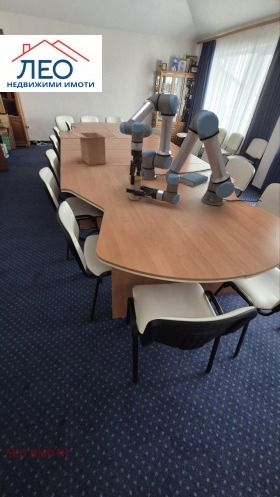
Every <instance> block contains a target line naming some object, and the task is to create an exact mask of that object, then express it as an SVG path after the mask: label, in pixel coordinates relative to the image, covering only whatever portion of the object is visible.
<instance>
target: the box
mask: <svg viewBox="0 0 280 497" xmlns="http://www.w3.org/2000/svg"><path fill="white" fill-rule="evenodd" d="M70 133H71V134H72V135H74V136H75V137H77V138H79V144H80V153H81V160H83V162H85V163H86V165H87V166H95V165H97V166H98V165H106V163H107V162H106V158H107V157H106V138H113V137H114V136H113V135H111V134H109V133H108V132H105V131H98V132H96V131H95V130H92V129H91V130H77V132H76V131H70Z"/></svg>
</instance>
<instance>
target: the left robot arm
mask: <svg viewBox="0 0 280 497" xmlns="http://www.w3.org/2000/svg"><path fill="white" fill-rule="evenodd" d="M179 111H180V98H179V96H178V95H177V94H174V93H161V92H160V93H159V92H158V93H154V94H152V95H150V96H149V97H147V98H146V99H145V100H144V101H143V103H142V106H140V108H138V109H137V111H136V112H135V113H134V114H133V115H132V116H131V117H130V118H129V119H128V120H127V121H121V122H120V124H119V132H120V133H121V135H122V134H123V135H127V136H131V141H130V148H131V149H130V155H131V156H132V159H130V165H129V176H131V185H134V183H135V176H134V175H136V176H140V177H141V178H142V180H146V181H154V180H156V178H157V176H165V175H166V173H163V174H161V173H156V169H161V170H165V171H166V170H167V171H168V170H169V169H170V167H171V165H172V163H173V161H174V156H172V152H171V151H170V150H171V149H170V148H171V139H172V132H173V124H174V118H176V115H177V114H178V113H179ZM154 112H158V113H159V114H160V115H159V116H160V117H161V125H160V137H159V149H158V150H153V149H151V150H150V149H149V150H145V151H143V149H144V147H143V146H144V139H145V138H148V137H151V136H152V134H153V127H152V125H150V124H147V123H146V124H144V123H143V122H144V121H145V120H146V119H147V118H148V116H149V115H151V114H153V113H154ZM142 154H143V158H142ZM141 159H142V162H141ZM155 168H156V169H155ZM210 170H211V168H207V169H201V170H195V171H184V172H179V174H178V175H180V174H181V175H184V174H189V173H192V172H195V173H199V172H205V171H210Z"/></svg>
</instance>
